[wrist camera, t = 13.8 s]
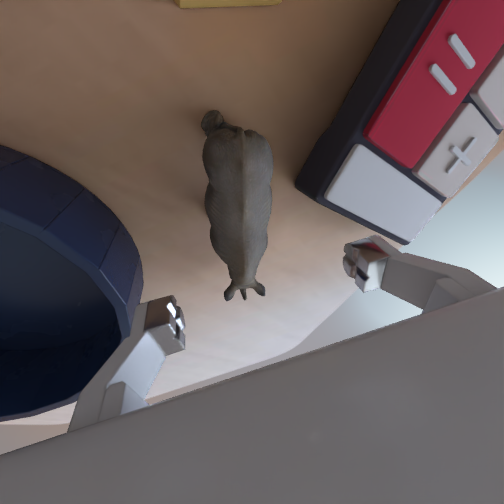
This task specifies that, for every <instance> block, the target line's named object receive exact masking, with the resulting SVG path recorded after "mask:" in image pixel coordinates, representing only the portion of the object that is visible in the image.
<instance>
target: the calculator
mask: <svg viewBox="0 0 504 504" xmlns="http://www.w3.org/2000/svg"><path fill="white" fill-rule="evenodd" d="M503 129H504V0H400V2H399V4H398V6H397V7H396V9H395V11H394V13H393V14H392V16H391V18H390V20H389V22H388V23H387V25H386V27H385V29H384V31H383V32H382V34H381V36H380V38H379V40H378V41H377V43H376V45H375V47H374V49H373V50H372V52H371V54H370V56H369V58H368V59H367V61H366V63H365V65H364V67H363V68H362V70H361V72H360V74H359V76H358V77H357V79H356V81H355V83H354V85H353V86H352V88H351V90H350V92H349V94H348V95H347V97H346V99H345V101H344V103H343V104H342V106H341V108H340V110H339V112H338V113H337V115H336V117H335V119H334V120H333V122H332V124H331V126H330V127H329V128H328V129H327V131H326V132H325V133H324V134H323V135H322V136H321V137H320V138H319V139H318V141H317V143H316V144H315V146H314V148H313V150H312V152H311V153H310V155H309V157H308V159H307V161H306V163H305V164H304V166H303V168H302V170H301V172H300V173H299V175H298V177H297V179H296V181H295V188H296V189H298V190H299V191H301V192H302V193H304V194H305V195H306V196H308V197H309V198H311V199H312V200H314V201H316V202H317V203H319V204H321V205H323V206H325V207H327V208H329V209H331V210H333V211H335V212H337V213H339V214H341V215H343V216H345V217H347V218H349V219H351V220H353V221H355V222H357V223H359V224H361V225H363V226H365V227H367V228H369V229H371V230H373V231H376V232H378V233H380V234H382V235H384V236H386V237H388V238H390V239H392V240H394V241H396V242H398V243H400V244H402V245H408V244H409V243H410V242H411V241H413V240H414V239H415V237H416V236H417V235H418V234H419V233H420V231H421V230H422V229H423V228H424V226H425V225H426V224H427V223H428V222H429V220H430V219H431V218H432V217H433V216H434V214H435V213H436V212H437V211H438V209H439V208H440V207H441V205H442V203H443V202H444V201H445V200H446V198H450V197H452V196H453V195H454V194H455V192H456V191H457V190H458V189H459V188H460V186H461V185H462V184H463V183H464V182H465V180H466V179H467V178H468V177H469V175H470V174H471V173H472V172H473V171H474V169H475V168H476V167H477V166H478V165H479V163H480V162H481V161H482V160H483V159H484V157H485V156H486V155H487V154H488V153H489V151H490V150H491V149H492V148H493V147H494V145H495V144H496V143H497V141H498V140H499V137H498V135H499V134H500V133H501V131H502V130H503Z"/></svg>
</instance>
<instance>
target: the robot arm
mask: <svg viewBox="0 0 504 504" xmlns="http://www.w3.org/2000/svg"><path fill="white" fill-rule="evenodd" d="M344 252H345V253H346V255H345V256H344V258H343V267H344V270H345V272H346V273H347V274H348V276H349V277H352V278H354V279H355V284H356V285H357V286H358V287H359V288H360V289H361V290H362V291H363V293H364V292H368V291H371V290H375V289H378V288H381V289H382V290H384V291H386V292H388V293H391V294H392V295H395V296H397V297H399V298H401V299H403V300H405V301H407V302H409V303H411V304H413V305H415V306H417V307H419V308H421V309H423V311H422V314H420V315H417V316H414V317H411V318H408V319H405V320H402V321H399V322H397V323H393V324H390V325H388V326H385V327H381V328H378V329H376V330H372V331H370V332H366V333H363V334H361V335H358V336H355V337H352V338H349V339H346V340H343V341H340V342H337V343H334V344H331V345H328V346H325V347H322V348H319V349H316V350H313V351H310V352H307V353H304V354H301V355H298V356H295V357H292V358H289V359H286V360H283V361H280V362H277V363H274V364H271V365H268V366H265V367H262V368H259V369H256V370H253V371H250V372H247V373H244V374H241V375H238V376H235V377H232V378H229V379H226V380H223V381H220V382H217V383H214V384H211V385H208V386H205V387H202V388H199V389H196V390H193V391H190V392H187V393H184V394H181V395H179V396H175V397H172V398H169V399H166V400H163V401H161V402H157V403H154V404H151V405H149V404H148V403H147V402H146V401H145V400H144V399H145V397H146V395H147V393H148V391H149V389H150V387H151V385H152V383H153V381H154V379H155V377H156V375H157V374H158V372H159V370H160V368H161V366H162V364H163V362H164V360H165V358H166V356H167V355H170V354H173V353H176V352H179V351H182V350H184V349H185V335H184V333H183V330H184V328H185V320H184V315H183V312H182V310H181V308H180V307H179V306H176V299H175V297H174V296H173V295H170V296H166V297H163V298H159V299H155V300H152V301H149V302H145V303H141V304H138V305H137V306H136V307H135V312H134V317H133V322H132V326H131V331H130V336H129V337H127V338H125V339H124V341H123V342H122V343H121V344H120V345H119V347H118V348H117V349H116V350H115V351H114V353H113V354H112V355H111V356H110V358H109V359H108V360H107V361H106V362H105V364H104V365H103V366H102V367H101V368H100V370H99V371H98V372H97V373H96V374H95V376H94V377H93V378H92V379H91V381H90V382H89V383H88V384H87V385H86V387H85V388H84V389H83V390H82V391H81V393H80V394H79V397H78V400H77V403H76V406H75V409H74V412H73V415H72V419H71V422H70V425H69V428H68V431H67V433H65V434H61V435H58V436H55V437H52V438H50V439H46V440H44V441H41V442H38V443H35V444H32V445H29V446H26V447H23V448H20V449H17V450H14V451H11V452H8V453H5V454H2V455H0V504H504V287H501V288H496V287H494V286H493V285H491V284H490V283H488V282H487V281H485V280H483V279H482V278H480V277H479V276H478V275H476V274H474V273H473V272H471V271H470V270H468V269H465V268H461V267H457V266H454V265H450V264H446V263H442V262H439V261H435V260H431V259H427V258H424V257H420V256H416V255H412V254H409V253H401V252H399V251H398V250H397V249H396V248H394V247H393V246H392V245H390V244H389V243H388V242H386V241H385V240H384V239H382V238H381V237H380V236H378V235H373V236H370V237H367V238H364V239H360V240H357V241H354V242H351V243H347V244H345V246H344Z"/></svg>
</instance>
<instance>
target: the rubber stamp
mask: <svg viewBox="0 0 504 504" xmlns="http://www.w3.org/2000/svg"><path fill="white" fill-rule="evenodd" d="M174 1H175V3H176V4H177V5H178V6H179V8H207V7H235V6H263V5H278V4H279V3H280V2H281V1H282V0H174Z"/></svg>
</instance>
